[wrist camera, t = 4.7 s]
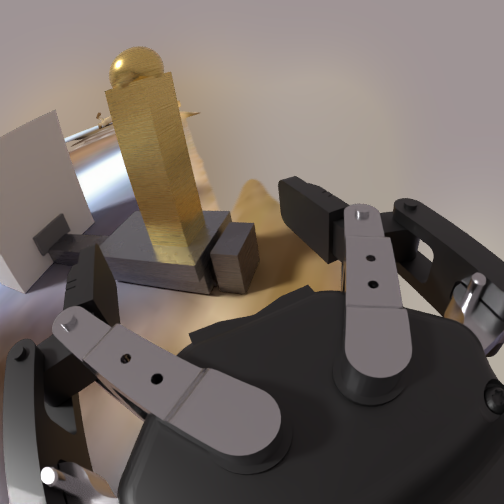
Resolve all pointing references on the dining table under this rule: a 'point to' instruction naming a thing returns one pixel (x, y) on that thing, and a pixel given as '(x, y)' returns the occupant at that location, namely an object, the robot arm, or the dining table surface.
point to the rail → (223, 255)
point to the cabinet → (36, 200)
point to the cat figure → (104, 120)
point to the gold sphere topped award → (157, 183)
